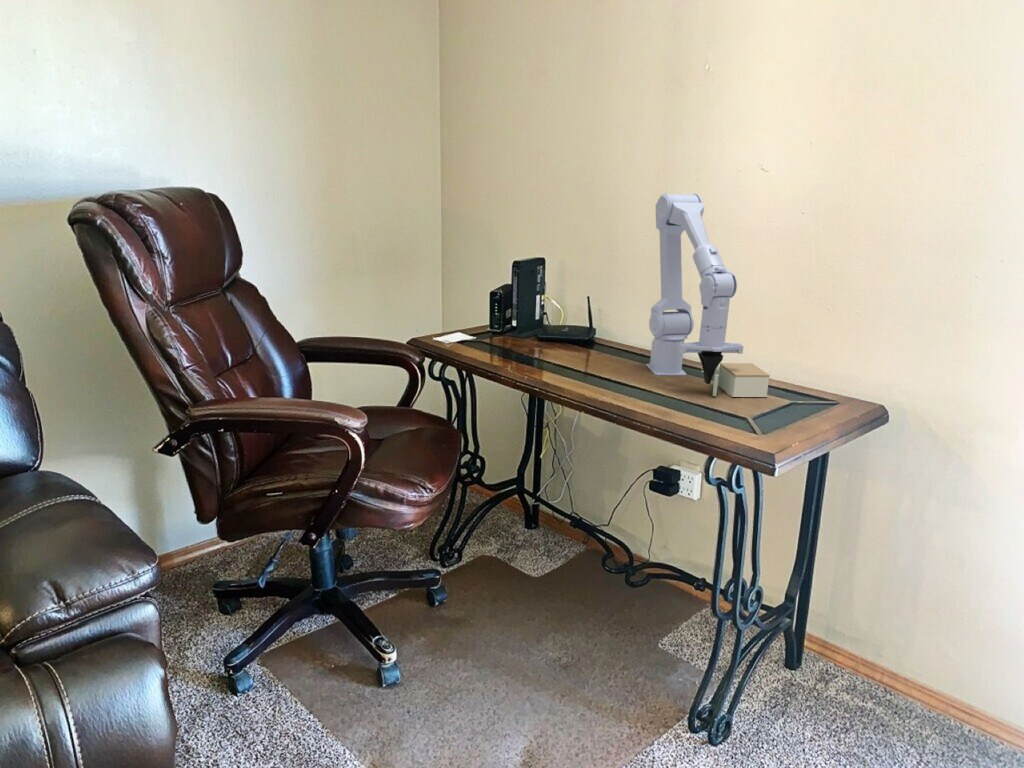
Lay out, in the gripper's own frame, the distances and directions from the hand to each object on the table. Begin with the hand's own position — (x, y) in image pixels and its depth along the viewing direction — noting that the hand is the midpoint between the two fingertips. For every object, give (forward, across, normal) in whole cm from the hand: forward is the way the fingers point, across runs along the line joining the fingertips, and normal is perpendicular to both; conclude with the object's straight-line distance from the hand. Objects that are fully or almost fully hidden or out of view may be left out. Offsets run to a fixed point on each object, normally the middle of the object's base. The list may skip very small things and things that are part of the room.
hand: (707, 382), depth 183 cm
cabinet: (+2, +9, +1) cm, 9 cm away
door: (+2, +3, +1) cm, 4 cm away
